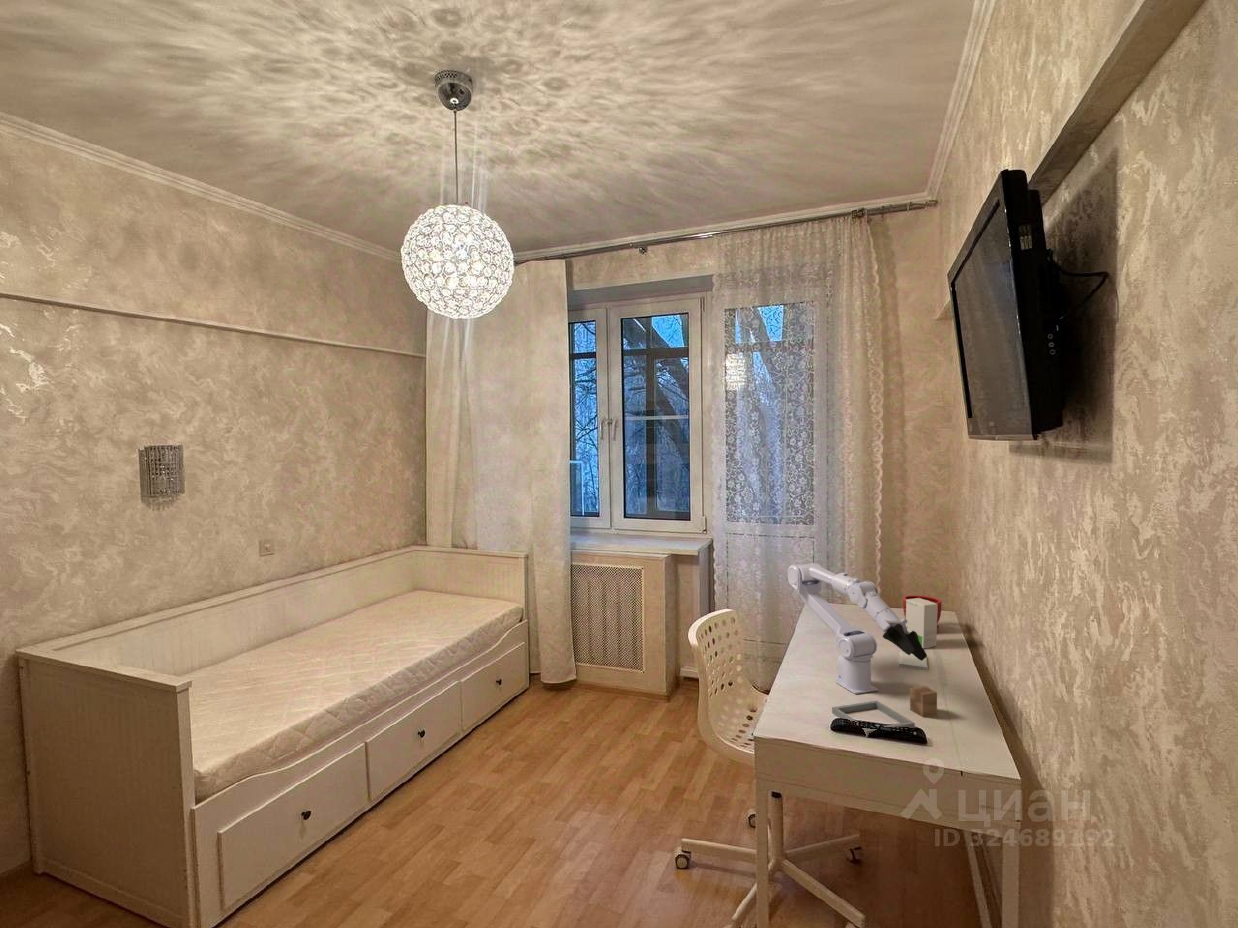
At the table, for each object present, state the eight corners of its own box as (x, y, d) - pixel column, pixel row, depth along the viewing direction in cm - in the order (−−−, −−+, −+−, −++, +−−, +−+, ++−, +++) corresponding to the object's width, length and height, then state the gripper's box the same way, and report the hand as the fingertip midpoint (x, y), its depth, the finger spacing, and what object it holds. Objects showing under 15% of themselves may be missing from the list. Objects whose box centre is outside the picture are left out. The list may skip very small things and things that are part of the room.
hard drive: (927, 667, 188) (926, 654, 199) (898, 663, 191) (899, 651, 203) (927, 672, 188) (926, 659, 199) (898, 668, 191) (899, 655, 203)
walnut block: (910, 710, 161) (910, 687, 160) (924, 707, 162) (923, 685, 162) (922, 717, 156) (922, 694, 156) (937, 714, 158) (936, 692, 157)
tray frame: (832, 712, 160) (832, 707, 160) (876, 705, 163) (876, 700, 163) (866, 737, 146) (866, 731, 146) (914, 728, 150) (914, 722, 150)
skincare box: (904, 642, 215) (904, 599, 214) (918, 639, 217) (918, 597, 216) (924, 649, 207) (923, 604, 206) (938, 647, 209) (938, 602, 209)
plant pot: (945, 636, 220) (944, 603, 220) (905, 633, 224) (905, 601, 224) (937, 625, 233) (937, 595, 233) (900, 623, 237) (900, 593, 237)
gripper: (882, 599, 161) (917, 639, 150) (905, 612, 169) (940, 650, 159) (862, 617, 163) (896, 657, 152) (886, 629, 171) (920, 667, 161)
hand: (918, 655), depth 156 cm, fingers open, 7 cm apart
